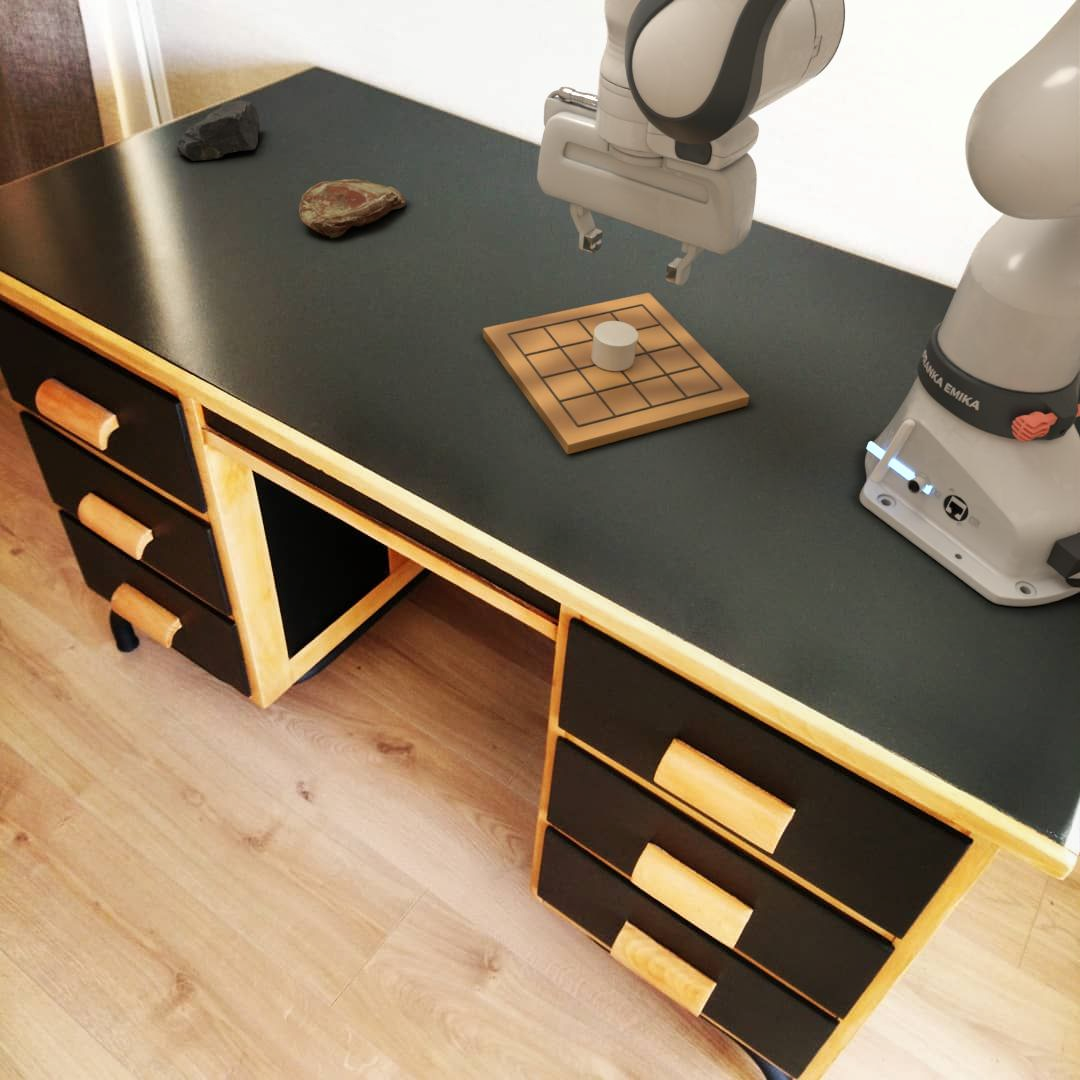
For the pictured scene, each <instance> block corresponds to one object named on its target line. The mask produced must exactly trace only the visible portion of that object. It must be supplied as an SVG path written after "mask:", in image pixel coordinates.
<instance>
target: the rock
mask: <svg viewBox="0 0 1080 1080" xmlns="http://www.w3.org/2000/svg"><path fill="white" fill-rule="evenodd" d="M259 117H260V114H259V112H258V109H257V108H256V107H255V106H254V104H253V102H251V101H245V100H234V101H225V102H224V103H223V104H222V105H221V106H220V107H219V108H218V109H215V110H213V111H212V112H210V113H209V114H208V115H207V116H206V117H204V118H203V119H202V120H200V121H198V122H196V123H193V124H192V125H191V126H189V127H188V128H187V130H186V131H185V132H183V134H182V135H181V137H179V140H178V141H177V143H176V151H177V153H178V154H179V155H181V156H183V157H186V158H188V159H189V160H190V161H194V162H195V161H209V160H218V159H221V158H223V157H224V155H227V154H229V153H235V152H245V151H253V150H256V147H257V146H258V144H259V143H258V142H259V138H258V137H259V131H260V127H261V125H260V118H259Z"/></svg>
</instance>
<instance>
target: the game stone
mask: <svg viewBox="0 0 1080 1080" xmlns="http://www.w3.org/2000/svg"><path fill="white" fill-rule="evenodd" d="M637 340H638V333H637V331H636V329H635V328H634V327H632V326H631V325H629V324H627V323H624V322H620V321H607V322H603V323H601V324H599V325H597V326H596V328H595V329H594V335H593V344H592V353H591V359H592V361H593V363H594V364H595V365H597V366H598V367H600V368H602V369H605V370H609V371H622V370H626V369H628V368H630V367H631V366H632V365H633V363H634V359H635V353H636V347H637Z"/></svg>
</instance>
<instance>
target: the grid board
mask: <svg viewBox="0 0 1080 1080" xmlns="http://www.w3.org/2000/svg"><path fill="white" fill-rule="evenodd" d="M607 321H620V322H624V323H627V324H629V325H631V326H632V327H634V328H635V329H636V331H637V333H638V340H637V347H636V353H635V359H634V363H633V365H632V366H631V367H630V368H628V369H626V370H622V371H609V370H605V369H602V368H600V367H598V366H597V365H595V364H594V363H593V361H592V359H591V353H592V344H593V335H594V329H595V328H596V326H597V325H599V324H601V323H603V322H607ZM482 339H484V342H485V343H486V344H487V346H488V347H489V348H490V349H491V351H492V352H493V354H494V355H495V356H496V358H497V359H498V360H499V362H500V363H501V364H502V366H503V367H504V369H505V370H506V372H507V373H508V374H509V376H510V377H511V378H512V380H513V381H514V383H515V384H516V386H517V387H518V388H519V389H520V391H521V392H522V394H523V395H524V396H525V398H526V399H527V400H528V402H529V404H530V405H531V406H532V408H533V409H534V410H535V412H536V413H537V414H538V416H539V417H540V419H541V420H542V422H543V423H544V424H545V426H546V427H547V429H549V431H550V433H551V434H552V436H553V437H554V438H555V440H556V441H557V442H558V444H559V445H560V447H561V448H562V449H563V450H564V452H565V454H567V455H571V454H574V453H579V452H582V451H585V450H590V449H592V448H597V447H601V446H604V445H608V444H611V443H615V442H618V441H622V440H626V439H630V438H633V437H637V436H640V435H645V434H648V433H652V432H656V431H659V430H662V429H663V430H664V429H667V428H670V427H674V426H678V425H681V424H685V423H687V422H692V421H697V420H699V419H703V418H707V417H710V416H714V415H718V414H721V413H725V412H728V411H733V410H737V409H740V408H743V407H747V406H748V404H749V400H750V395H749V394H748V392H747V391H745V389H743V388H742V387H741V385H740V384H738V383H737V381H736V380H735V379H734V378H733V377H732V376H731V375H730V374H729V373H728V372H727V371H726V370H725V369H724V368H723V367H722V366H721V365H720V364H719V363H718V362H717V361H716V360H715V359H714V358H713V357H712V356H711V355H710V354H709V352H708V351H706V349H704V347H702V346H701V345H700V343H698V341H697V340H696V339H695V338H694V337H693V336H692V335H691V334H690V333H689V332H688V331H687V330H686V329H685V328H684V327H683V326H682V325H681V324H680V323H679V322H678V321H677V320H676V319H675V318H674V317H673V316H672V315H671V313H669V311H667V309H666V308H665V307H664V306H663V305H661V303H660V302H659V301H658V300H657V299H656V298H655V297H654V296H653V295H652V294H651V293H650V292H644V293H640V294H635V295H631V296H627V297H622V298H616V299H612V300H608V301H603V302H599V303H593V304H589V305H584V306H580V307H575V308H570V309H566V310H561V311H556V312H552V313H548V314H547V313H546V314H543V315H538V316H532V317H528V318H524V319H520V320H515V321H510V322H506V323H500V324H497V325H491V326H487V327H483V328H482Z"/></svg>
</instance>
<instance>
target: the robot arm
mask: <svg viewBox="0 0 1080 1080" xmlns="http://www.w3.org/2000/svg"><path fill="white" fill-rule="evenodd" d="M603 5H604V8H603V9H604V12H603V13H604V19H605V26H606V43H605V48H604V51H603V54H602V57H601V60H600V63H599V73H598V86H597V94H593V93H589V92H582V91H578V90H576V89H574V88H572V87H569V86H560V88H559V89H557V90H554V91H551V92H550V93H549V94H548V96H547V98H546V99H545V101H544V106H543V126H544V128H543V129H544V130H543V132H542V137H541V141H540V142H541V143H540V147H539V155H538V162H537V163H538V164H537V172H536V180H537V183H538V185H539V188H540V190H541V191H542V193H543V194H544V195H547V196H548V197H551V198H555V199H558V200H561V201H564V202H567V203H570V204H569V205H570V207H569V214H570V217H571V219H572V221H573V223H574V226H575V228H576V231H577V232H578V233H579V236H578V249H579V250H581V251H583V252H586V253H589V254H592V255H593V254H595V253H596V252H598V251H600V249H601V247H602V243H603V242H602V238H603V230H601V229H599V228H596V225H595V221H594V218H593V215H592V212H591V211H593V212H595V213H598V214H602V215H605V216H608V217H611V218H613V219H616V220H619V221H622V222H624V223H627V224H631V225H633V226H637V227H639V228H642V229H645V230H648V231H651V232H654V233H655V234H656V233H657V234H659V235H662V236H664V237H665V236H666V237H668V238H672V239H674V240H677V241H679V242H681V249H680V251H681V252H682V253H685V255H684V256H683V258H681V257H676V258H674V259H673V261H671V262H670V263H668V264H667V267H666V273H667V275H666V276H665V281H666V282H668V283H671V284H674V285H677V286H680V287H682V286H683V285H684V284H685V283H687V282H688V279H689V278H690V273H691V267H692V264H693V263H694V262H695V261H696V260H697V258H698V257H699V256H700V255H701V254H702V253H703V252H704V250H705V251H709V252H712V253H715V254H717V255H722V256H725V255H727V254H728V253H730V252H732V251H733V250H735V249H736V248H738V247H739V246H740V245H741V244H742V243H743V242H745V240H747V238H748V236H749V235H750V232H751V229H752V224H753V218H754V212H755V205H756V196H757V182H758V178H757V177H758V176H757V168H756V164H755V161H754V159H753V157H752V156H751V155H750V154H749V151H750V150H751V149H752V148H754V146H755V145H756V144H757V142H758V139H759V134H760V127H759V124H758V122H757V121H756V120H755V119H753V118H752V117H751V115H753V114H754V113H757V112H758V111H761V110H763V109H764V108H766V107H768V106H770V105H772V104H774V103H776V102H777V101H779V100H780V99H781V98H783V97H785V96H786V95H789V94H790V93H792V92H794V91H796V90H797V89H799V88H800V87H802V86H804V85H805V84H807V83H808V82H810V81H811V80H812V79H814V78H816V77H817V76H818V75H820V74H821V73H822V72H823V71H824V70H825V69H826V68H827V67H828V66H829V64H830V63H831V61H832V60H833V58H834V57H835V55H836V53H837V51H838V49H839V47H840V44H841V42H842V39H843V34H844V30H845V23H846V4H845V0H604V3H603ZM965 135H966V136H965V141H964V142H965V144H964V145H965V146H964V148H965V149H964V151H965V161H966V166H967V171H968V174H969V176H970V179H971V182H972V183H973V186H974V187H975V189H976V191H977V192H978V193H979V195H980V196H981V197H982V199H983V200H984V201H985V202H986V203H987V204H988V205H989V206H991V207H992V208H993V209H995V210H996V211H998V212H999V213H1002V215H1001V216H1000V217H999V218H998V219H997V220H996V222H995V223H993V224H992V225H991V226H990V227H989V229H988V230H986V232H985V233H984V234H982V236H981V238H980V239H979V241H978V242H977V243H976V245H975V247H974V248H973V250H972V252H971V254H970V257H969V259H968V262H967V264H966V266H965V269H964V271H963V274H962V276H961V278H960V280H959V282H958V284H957V287H956V289H955V292H954V294H953V296H952V298H951V301H950V304H949V306H948V308H947V310H946V313H945V315H944V318H943V320H942V321H941V322H939V323H938V324H937V325H936V326H935V327H934V329H933V331H932V333H931V335H930V336H929V339H928V341H927V343H926V345H925V347H924V350H923V352H922V355H921V356H920V359H919V361H918V364H917V377H916V378H915V380H914V382H913V384H912V386H911V388H910V390H909V391H908V393H907V395H906V397H905V398H904V400H903V402H902V404H901V405H900V407H899V409H898V410H897V411H896V412H895V414H894V415H893V417H892V419H891V420H890V421H889V423H888V424H887V426H885V428H884V429H883V430H882V432H881V433H880V434H879V435H878V436H877V437H876V438H875V440H873V441H871V440H870V441H869V442H868V443H867V446H866V450H867V451H866V453H865V457H864V468H865V476H866V479H865V480H866V481H865V482H864V485H863V486H862V488H861V490H860V493H859V496H858V497H859V498H858V499H859V502H860V504H862V506H863V507H864V508H866V509H867V510H869V512H871V513H872V514H874V515H875V516H877V517H878V518H879V519H880V520H882V521H883V522H884V523H885V524H887V525H889V526H890V527H891V528H892V529H893V530H895V531H896V532H897V533H899V534H900V535H901V536H903V537H904V538H905V539H907V540H908V541H909V542H910V543H912V544H913V545H915V546H916V547H917V548H919V550H921V551H922V552H924V553H925V554H927V556H929V557H931V558H932V559H933V560H934V561H936V562H937V563H938V564H940V565H941V566H943V568H945V569H947V570H948V571H949V572H951V573H952V574H953V575H954V576H956V578H958V579H959V580H961V581H963V583H965V584H966V585H967V586H969V587H970V588H971V589H972V590H974V591H976V592H977V593H979V594H980V595H981V596H982V597H984V598H985V599H986V600H988V601H990V602H991V603H993V604H997V605H1001V606H1008V607H1034V606H1040V605H1041V606H1042V605H1046V604H1051V603H1054V602H1057V601H1061V600H1063V599H1066V598H1069V597H1072V596H1074V595H1076V594H1078V593H1080V434H1079V432H1078V430H1077V428H1076V425H1075V422H1076V419H1077V418H1078V417H1080V403H1078V402H1079V396H1080V0H1075V1H1074V2H1073V3H1072V5H1071V6H1070V7H1069V8H1068V9H1067V10H1066V12H1065V13H1064V14H1063V15H1062V16H1061V17H1060V18H1059V19H1058V20H1057V22H1056V23H1055V24H1054V25H1053V26H1052V27H1051V28H1050V29H1049V30H1048V32H1046V34H1045V35H1044V36H1043V37H1042V38H1041V39H1040V40H1039V41H1038V42H1037V43H1036V44H1035V45H1034V46H1033V47H1032V48H1031V49H1030V50H1029V51H1028V52H1026V53H1025V54H1024V55H1023V56H1022V57H1020V59H1018V60H1017V61H1016V62H1014V64H1012V65H1011V66H1010V67H1009V68H1008V69H1006V70H1005V71H1004V72H1003V73H1002V74H1000V75H999V76H998V77H997V78H995V80H994V81H992V82H991V84H990V85H988V86H987V88H986V89H985V90H984V92H983V93H982V94H981V96H980V97H979V99H978V100H977V102H976V104H975V106H974V108H973V111H972V112H971V116H970V117H969V121H968V125H967V128H966V134H965Z"/></svg>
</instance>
